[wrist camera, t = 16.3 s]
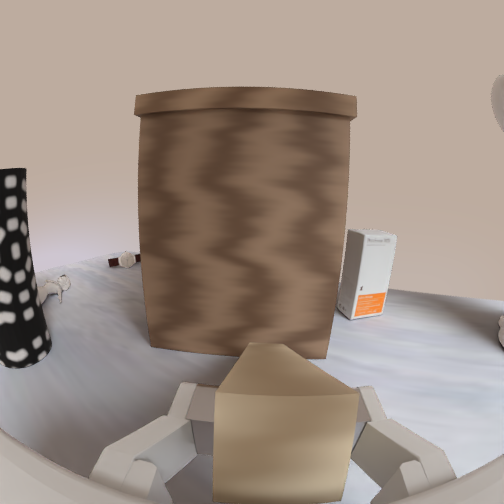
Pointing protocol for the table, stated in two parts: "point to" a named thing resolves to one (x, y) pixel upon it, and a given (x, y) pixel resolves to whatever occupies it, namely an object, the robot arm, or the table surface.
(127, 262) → the watch
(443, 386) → the table surface
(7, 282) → the white-spotted black cylinder
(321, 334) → the stand
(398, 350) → the table surface
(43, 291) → the woman figurine
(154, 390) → the table surface
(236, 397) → the rod
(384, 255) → the skincare box
